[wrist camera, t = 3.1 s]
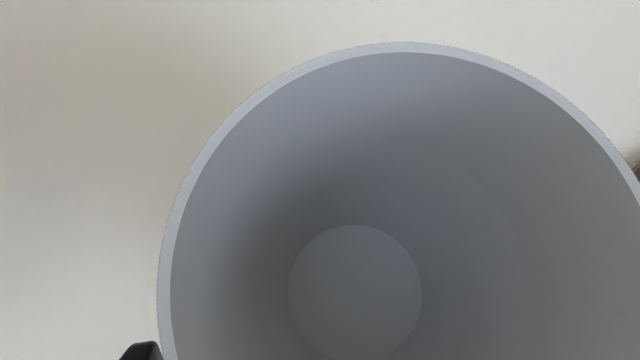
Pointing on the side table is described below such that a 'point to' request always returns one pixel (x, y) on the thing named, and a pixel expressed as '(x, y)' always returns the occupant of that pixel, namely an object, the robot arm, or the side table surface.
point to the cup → (403, 220)
